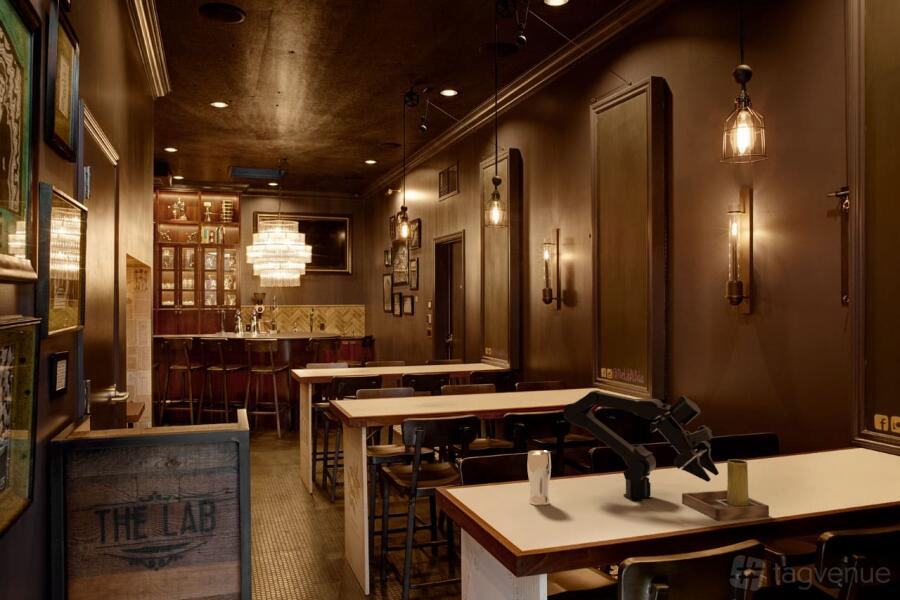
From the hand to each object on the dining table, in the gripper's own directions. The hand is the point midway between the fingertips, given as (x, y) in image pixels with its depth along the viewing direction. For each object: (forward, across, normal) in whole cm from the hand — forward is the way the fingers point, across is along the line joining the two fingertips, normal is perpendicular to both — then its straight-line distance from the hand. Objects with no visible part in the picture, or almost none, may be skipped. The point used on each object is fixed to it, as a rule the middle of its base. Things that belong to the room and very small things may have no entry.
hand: (713, 477), depth 193 cm
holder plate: (+11, 0, +1) cm, 11 cm away
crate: (+8, 0, +4) cm, 10 cm away
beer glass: (-24, -22, +39) cm, 51 cm away
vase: (+11, 0, +2) cm, 11 cm away
